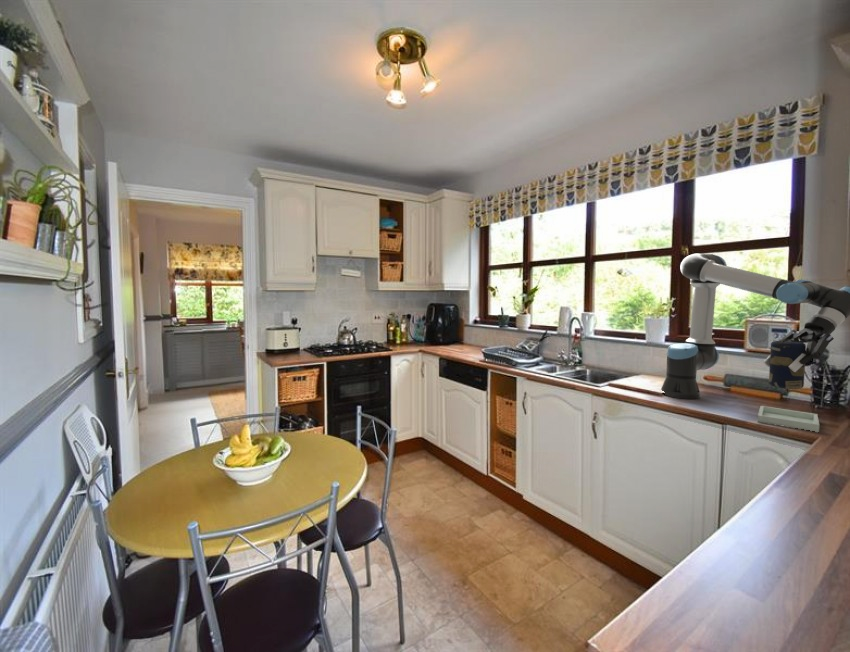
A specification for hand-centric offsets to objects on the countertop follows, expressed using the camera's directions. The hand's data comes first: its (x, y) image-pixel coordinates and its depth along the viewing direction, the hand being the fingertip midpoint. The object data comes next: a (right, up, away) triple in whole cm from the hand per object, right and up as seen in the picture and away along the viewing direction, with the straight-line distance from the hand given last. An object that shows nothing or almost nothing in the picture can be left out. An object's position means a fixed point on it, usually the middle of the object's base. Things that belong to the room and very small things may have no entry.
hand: (778, 366), depth 144 cm
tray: (+4, -20, +1) cm, 21 cm away
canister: (+3, -8, +1) cm, 9 cm away
